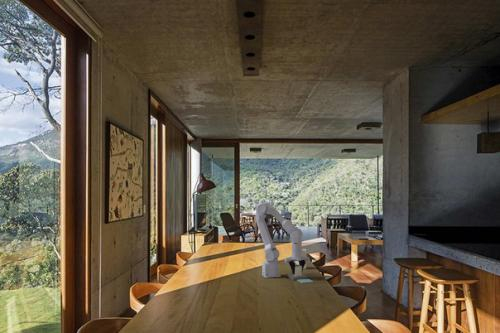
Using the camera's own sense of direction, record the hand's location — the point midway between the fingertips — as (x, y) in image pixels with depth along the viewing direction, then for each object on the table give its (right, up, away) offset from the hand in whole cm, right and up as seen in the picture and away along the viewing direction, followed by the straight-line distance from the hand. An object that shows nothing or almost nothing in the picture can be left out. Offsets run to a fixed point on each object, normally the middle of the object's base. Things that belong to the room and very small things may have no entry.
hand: (297, 273), depth 228 cm
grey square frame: (0, -3, 0) cm, 3 cm away
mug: (+5, -4, +27) cm, 28 cm away
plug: (0, -2, 0) cm, 2 cm away
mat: (+4, -2, -9) cm, 10 cm away
